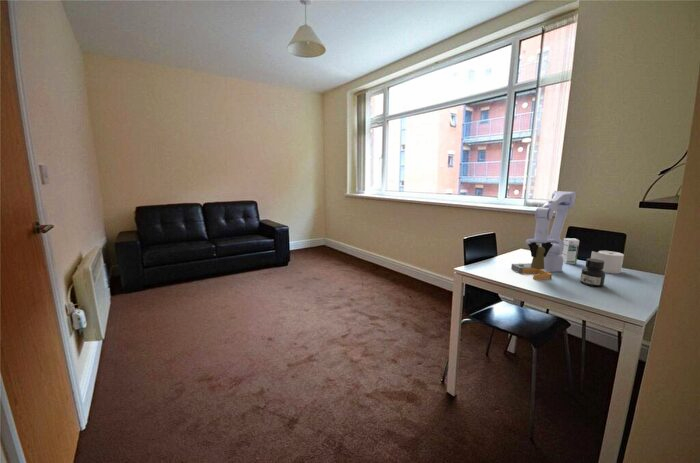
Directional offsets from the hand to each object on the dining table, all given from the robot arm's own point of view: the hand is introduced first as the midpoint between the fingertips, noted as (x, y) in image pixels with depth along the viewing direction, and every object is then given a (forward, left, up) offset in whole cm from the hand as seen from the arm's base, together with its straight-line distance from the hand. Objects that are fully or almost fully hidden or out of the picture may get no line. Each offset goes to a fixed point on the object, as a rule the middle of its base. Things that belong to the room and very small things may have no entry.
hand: (538, 256), depth 153 cm
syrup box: (-36, -21, -11) cm, 43 cm away
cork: (0, 0, -6) cm, 6 cm away
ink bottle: (-19, +13, -11) cm, 25 cm away
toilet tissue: (-45, -5, -11) cm, 47 cm away
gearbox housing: (0, -3, -10) cm, 11 cm away
